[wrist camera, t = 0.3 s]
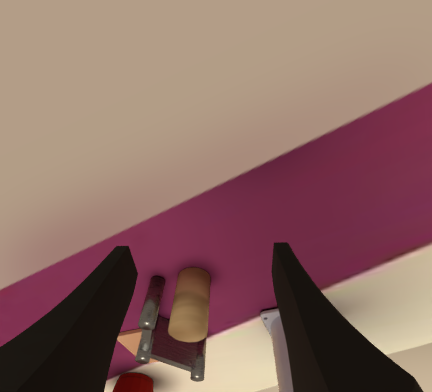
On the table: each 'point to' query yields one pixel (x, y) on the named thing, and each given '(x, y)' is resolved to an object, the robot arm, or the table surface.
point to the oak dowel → (190, 306)
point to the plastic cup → (134, 383)
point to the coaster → (132, 341)
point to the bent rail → (166, 337)
